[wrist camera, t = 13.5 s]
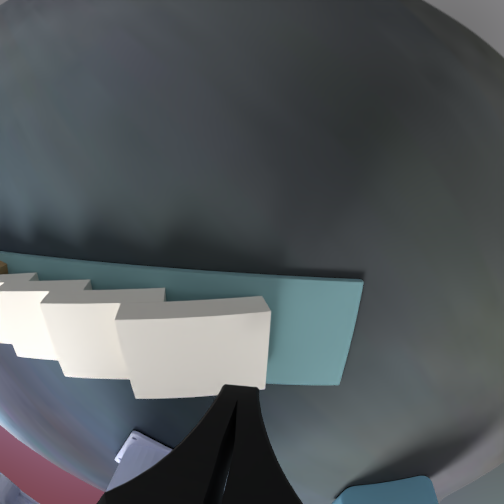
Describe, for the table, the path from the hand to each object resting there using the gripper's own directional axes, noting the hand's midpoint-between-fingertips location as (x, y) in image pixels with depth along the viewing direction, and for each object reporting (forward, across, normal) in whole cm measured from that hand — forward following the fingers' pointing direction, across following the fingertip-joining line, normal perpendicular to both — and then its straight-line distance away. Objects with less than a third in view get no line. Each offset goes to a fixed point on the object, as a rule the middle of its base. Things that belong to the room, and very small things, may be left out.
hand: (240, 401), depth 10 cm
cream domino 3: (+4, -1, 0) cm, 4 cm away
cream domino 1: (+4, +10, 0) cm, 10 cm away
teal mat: (+5, +8, 0) cm, 10 cm away
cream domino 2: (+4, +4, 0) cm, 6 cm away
